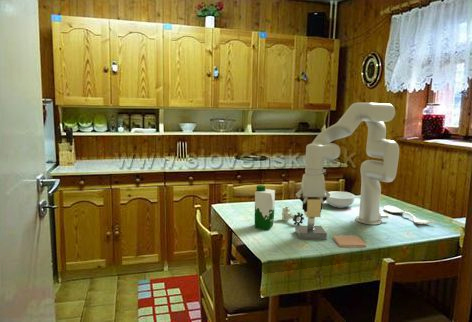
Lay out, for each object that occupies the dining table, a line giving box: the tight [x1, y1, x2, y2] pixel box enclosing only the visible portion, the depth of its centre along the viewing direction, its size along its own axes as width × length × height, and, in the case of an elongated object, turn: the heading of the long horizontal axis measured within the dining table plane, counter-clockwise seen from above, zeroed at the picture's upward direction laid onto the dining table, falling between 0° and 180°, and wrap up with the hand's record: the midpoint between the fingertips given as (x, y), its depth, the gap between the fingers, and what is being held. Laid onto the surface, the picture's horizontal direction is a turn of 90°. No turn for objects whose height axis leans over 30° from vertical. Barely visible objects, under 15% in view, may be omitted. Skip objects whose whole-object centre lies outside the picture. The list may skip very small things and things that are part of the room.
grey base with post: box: [294, 217, 328, 241], centre depth 172 cm, size 12×10×10 cm
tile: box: [332, 235, 367, 248], centre depth 165 cm, size 11×11×1 cm
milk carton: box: [254, 184, 276, 231], centre depth 182 cm, size 9×9×20 cm
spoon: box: [383, 205, 436, 225], centre depth 203 cm, size 9×32×4 cm, turn 14°
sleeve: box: [303, 197, 322, 218], centre depth 171 cm, size 6×6×8 cm
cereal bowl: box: [325, 190, 355, 209], centre depth 223 cm, size 17×17×7 cm
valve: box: [281, 206, 305, 226], centre depth 191 cm, size 7×7×12 cm
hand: (312, 210), depth 171 cm, fingers closed on sleeve, 6 cm apart
